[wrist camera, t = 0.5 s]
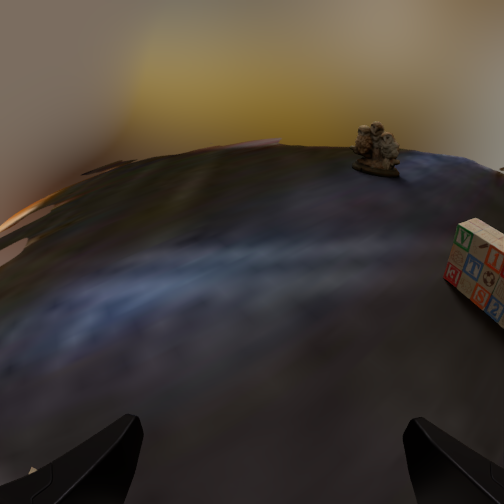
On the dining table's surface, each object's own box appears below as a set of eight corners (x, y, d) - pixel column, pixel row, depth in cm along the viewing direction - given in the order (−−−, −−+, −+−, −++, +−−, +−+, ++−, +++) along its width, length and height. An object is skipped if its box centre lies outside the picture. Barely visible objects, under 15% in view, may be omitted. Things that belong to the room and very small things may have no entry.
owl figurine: (343, 169, 90) (344, 118, 81) (356, 163, 97) (357, 117, 89) (395, 180, 79) (399, 125, 71) (402, 173, 87) (406, 124, 78)
